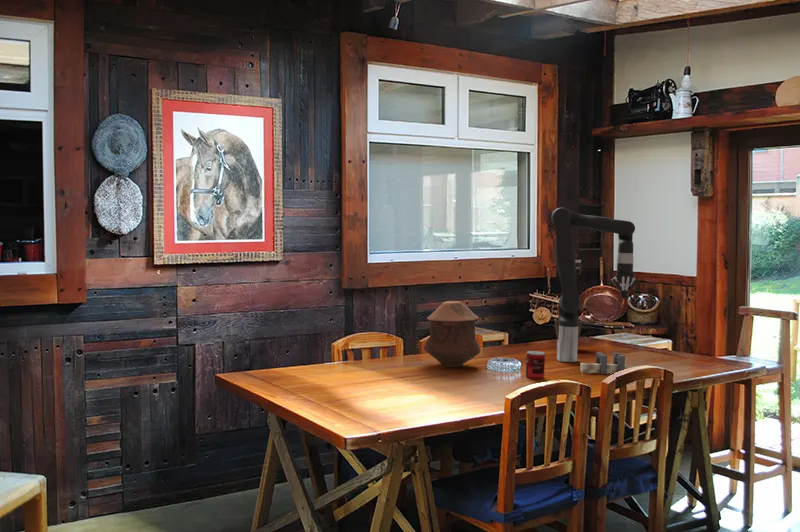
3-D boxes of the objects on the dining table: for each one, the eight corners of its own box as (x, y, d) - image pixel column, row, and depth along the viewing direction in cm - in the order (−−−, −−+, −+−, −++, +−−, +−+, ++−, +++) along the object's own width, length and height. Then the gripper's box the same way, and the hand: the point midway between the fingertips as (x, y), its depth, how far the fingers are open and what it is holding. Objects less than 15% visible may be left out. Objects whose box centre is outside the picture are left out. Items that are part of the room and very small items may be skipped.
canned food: (531, 375, 340) (532, 350, 340) (547, 377, 335) (548, 352, 335) (522, 377, 334) (523, 352, 334) (538, 380, 329) (539, 354, 329)
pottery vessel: (489, 365, 360) (491, 301, 359) (462, 373, 339) (464, 305, 338) (442, 359, 375) (443, 297, 373) (413, 366, 354) (414, 300, 352)
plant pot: (548, 347, 423) (549, 318, 422) (572, 346, 427) (573, 318, 426) (561, 351, 408) (563, 321, 407) (586, 351, 413) (588, 321, 412)
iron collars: (600, 374, 346) (601, 355, 346) (595, 370, 355) (595, 352, 355) (624, 375, 346) (625, 356, 346) (617, 371, 356) (618, 352, 355)
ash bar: (582, 373, 348) (582, 364, 348) (580, 371, 352) (580, 362, 352) (626, 374, 348) (626, 365, 348) (623, 372, 352) (624, 363, 352)
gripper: (613, 262, 370) (612, 298, 371) (641, 263, 370) (639, 299, 371) (609, 261, 377) (607, 297, 378) (636, 262, 378) (634, 297, 378)
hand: (623, 298), depth 375 cm, fingers closed
